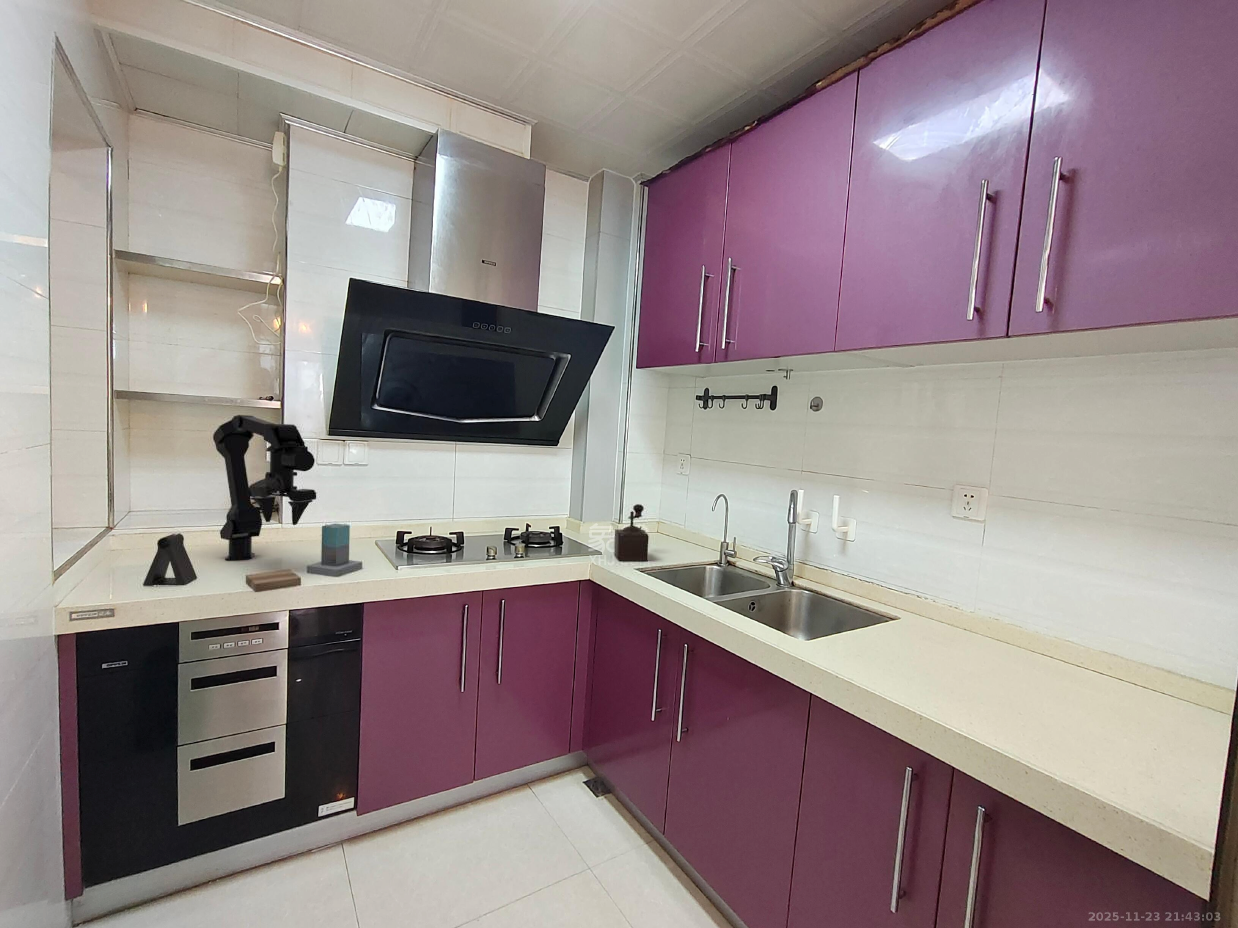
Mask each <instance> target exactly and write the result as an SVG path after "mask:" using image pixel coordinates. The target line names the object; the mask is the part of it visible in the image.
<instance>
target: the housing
mask: <svg viewBox="0 0 1238 928" xmlns="http://www.w3.org/2000/svg"><path fill="white" fill-rule="evenodd" d="M350 526H351V525H350V524H348V523H344V524H343V523H332V524H327V523H326V524H324V525H322V526H321V549H320V550H321V551H320V552H321V553H320V554H321V555H320V556H321V557H320V559H321V561H320V562H321V565H327V566H335V567H337V566H340V565H343V564H347V563H349V560H350V539H351V538H350V534H351V533H350V531H351V527H350Z"/></svg>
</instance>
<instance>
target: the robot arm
mask: <svg viewBox="0 0 1238 928" xmlns="http://www.w3.org/2000/svg"><path fill="white" fill-rule="evenodd" d="M255 434H256V435H259V436H262V437H263V441H264V442H267V443H268V444H270V445H269V446H268V447H266V450H265V451H266V452H268V453H269V471H266V473H265V475H264V478H262V479H259V480H258V481H257V480H256V481H255V482H254V483H252V484H250V485H249V479H248V473H247V466H246V459H245V455H246V454H247V451H248V450H249V448H250V441H251V440H252V439H253V437H254V436H255ZM212 440H213V442H214V445H215V449H216V451H217V452H218V453H219V454H220V455H221V457H222V458H223V459H224V462H225V464H224V465H225V470H226V471H225V472H226V477H227V484H228V491H229V492H228V493H229V497H230V508H229V509H228V511H227V513H226V516H225V517H226V522H225V523H224V525H223V526H222V528H221V529H220V530H219V535H220V539H222V540H226V541H228V555H227V556H226V557H225V558H224V560H225V561H235V560H236V561H237V560H252V559H253V557H254V556H255V552H253V551H252V549H253V546H252V545H253V544H252V540H253V539H252V538H254V537H260V534H261V530H262V526H263V519H264V521H265V522H266V523H270V522H271V520H272V516H273V510H274V506H275V502H276V497H286V498H288V499H289V500H290V501H287V502H288V504H289V506H291V522H292V525H293V526H296V525H297V524H298V523H299V521H300V519H301V517H302V515H303V513H304V512H305V510H306V509H307V507H308V506H309V505H310V503H313V500H317V492H316V490H315V489H309V488H299V489H298V486H297V485H294V482H295V481H294V480H295V479H294V478H295V476H296V477H297V476H298V472H308V471H310V470H311V469H312V468H313V467H314V466H315V460H316V459H315V458H314V457H315V456H314V455H313V453H312V452H310V451H309V448H308V447H309V446H306V444H305V440H304V439H303V438H302V435H301V433H300V431H299V429H298V427H297V426H296V424H290V423H289V424H287V423H285V424H284V423H275V422H274V423H273V422H270V421H267V420H264V419H262V418H258V417H255V416H253V415H248V414H246V415H245V414H237V415H234V416H233V417H232V418H231V419H230V420H228V421H226V422H224V423H222V424H220V425H219V426H218V428H217V429H216V431H214V433H213V434H212ZM297 471H298V472H297ZM252 500H253V501H254V502H256V503H257V504H258V506H255V505H254V504H253V503H252ZM261 513H262V515H263V518H262V516H261Z"/></svg>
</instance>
